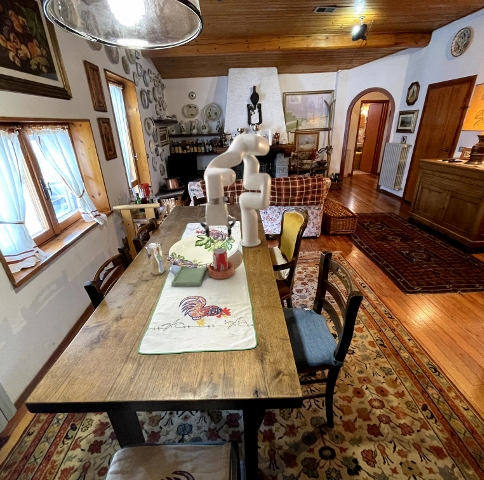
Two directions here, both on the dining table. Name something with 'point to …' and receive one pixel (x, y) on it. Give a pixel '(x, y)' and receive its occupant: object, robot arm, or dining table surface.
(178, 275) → the tray
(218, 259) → the soda can
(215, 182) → the robot arm
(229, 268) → the bowl
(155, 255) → the beer glass
